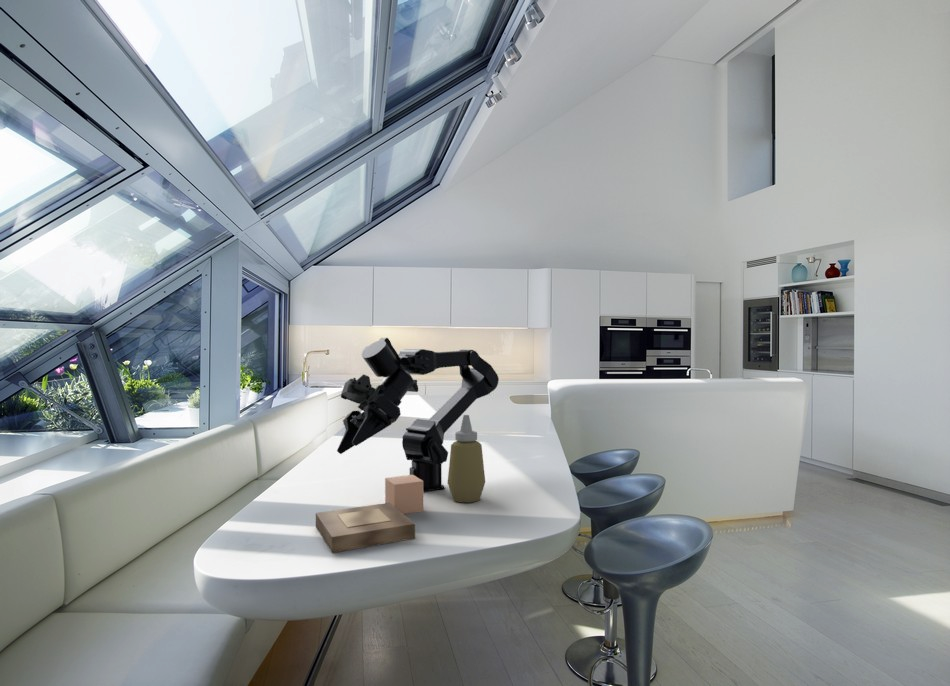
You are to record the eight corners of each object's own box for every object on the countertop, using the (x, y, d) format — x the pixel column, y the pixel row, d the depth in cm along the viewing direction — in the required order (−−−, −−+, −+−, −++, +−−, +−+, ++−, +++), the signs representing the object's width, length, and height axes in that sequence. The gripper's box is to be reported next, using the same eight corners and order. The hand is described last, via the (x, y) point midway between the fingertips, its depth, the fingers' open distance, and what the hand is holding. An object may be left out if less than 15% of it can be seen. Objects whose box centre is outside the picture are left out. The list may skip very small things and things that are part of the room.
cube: (413, 503, 114) (412, 474, 114) (423, 511, 109) (423, 481, 109) (385, 507, 112) (385, 478, 112) (394, 515, 106) (394, 484, 106)
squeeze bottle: (490, 496, 119) (489, 413, 119) (478, 506, 111) (478, 418, 112) (455, 493, 122) (455, 412, 122) (441, 503, 114) (441, 416, 114)
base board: (389, 515, 106) (389, 501, 106) (414, 538, 93) (414, 522, 93) (315, 526, 100) (315, 512, 100) (332, 552, 87) (332, 536, 87)
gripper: (347, 379, 124) (302, 432, 115) (377, 353, 109) (329, 411, 100) (384, 411, 126) (342, 465, 117) (419, 390, 111) (374, 450, 102)
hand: (346, 448), depth 109 cm, fingers open, 9 cm apart
